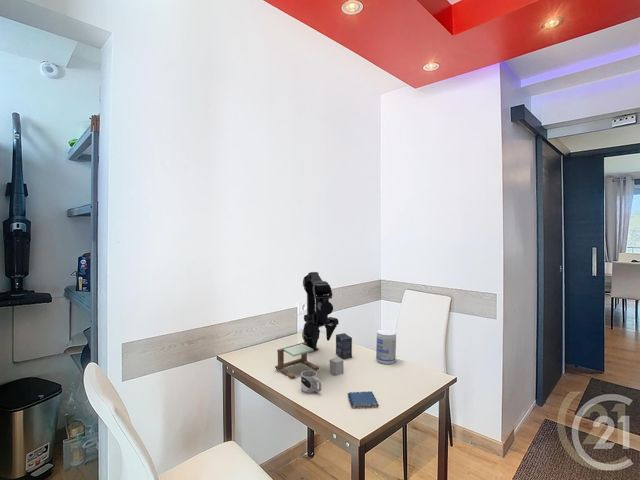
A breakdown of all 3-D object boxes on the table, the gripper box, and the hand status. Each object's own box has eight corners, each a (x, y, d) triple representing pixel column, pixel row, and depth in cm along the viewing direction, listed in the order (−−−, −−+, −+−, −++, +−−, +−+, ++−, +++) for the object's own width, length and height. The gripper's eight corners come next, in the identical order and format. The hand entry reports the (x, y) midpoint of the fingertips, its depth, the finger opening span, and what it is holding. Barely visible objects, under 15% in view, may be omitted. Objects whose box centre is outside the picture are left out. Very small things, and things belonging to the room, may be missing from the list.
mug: (297, 389, 137) (297, 373, 137) (309, 383, 142) (309, 368, 141) (315, 398, 130) (315, 381, 130) (326, 391, 135) (326, 375, 135)
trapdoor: (283, 350, 155) (283, 349, 155) (302, 345, 162) (301, 343, 162) (294, 356, 148) (294, 354, 148) (313, 350, 155) (313, 349, 155)
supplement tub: (374, 363, 163) (374, 333, 162) (378, 355, 172) (378, 328, 171) (394, 366, 159) (394, 335, 159) (397, 358, 168) (397, 330, 168)
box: (335, 354, 174) (335, 334, 174) (345, 352, 177) (345, 332, 176) (342, 359, 167) (342, 339, 167) (352, 357, 169) (352, 337, 169)
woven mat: (379, 409, 123) (379, 404, 123) (351, 410, 122) (351, 405, 122) (373, 395, 133) (373, 390, 133) (347, 396, 132) (347, 391, 132)
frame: (275, 368, 157) (274, 347, 156) (301, 360, 166) (301, 340, 166) (291, 379, 146) (291, 357, 145) (319, 369, 156) (319, 348, 155)
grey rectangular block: (336, 369, 156) (336, 357, 155) (343, 372, 152) (343, 360, 152) (329, 372, 153) (329, 359, 153) (336, 375, 149) (336, 362, 149)
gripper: (321, 303, 165) (321, 334, 166) (294, 310, 151) (295, 344, 152) (339, 307, 158) (339, 339, 159) (313, 314, 144) (313, 350, 144)
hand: (321, 342), depth 154 cm, fingers open, 9 cm apart
